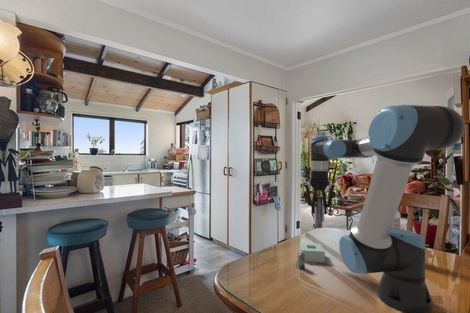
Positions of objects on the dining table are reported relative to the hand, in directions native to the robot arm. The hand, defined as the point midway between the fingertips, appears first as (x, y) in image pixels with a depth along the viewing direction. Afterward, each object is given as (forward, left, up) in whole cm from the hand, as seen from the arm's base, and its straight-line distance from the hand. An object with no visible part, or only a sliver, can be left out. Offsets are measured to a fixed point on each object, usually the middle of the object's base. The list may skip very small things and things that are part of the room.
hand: (318, 220), depth 115 cm
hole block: (+4, +3, -18) cm, 19 cm away
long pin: (0, 0, -3) cm, 3 cm away
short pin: (-8, +9, -18) cm, 22 cm away
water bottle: (+10, -35, -19) cm, 41 cm away
